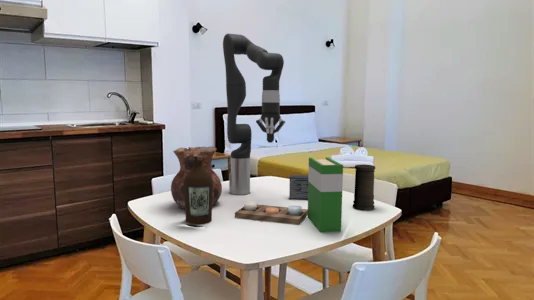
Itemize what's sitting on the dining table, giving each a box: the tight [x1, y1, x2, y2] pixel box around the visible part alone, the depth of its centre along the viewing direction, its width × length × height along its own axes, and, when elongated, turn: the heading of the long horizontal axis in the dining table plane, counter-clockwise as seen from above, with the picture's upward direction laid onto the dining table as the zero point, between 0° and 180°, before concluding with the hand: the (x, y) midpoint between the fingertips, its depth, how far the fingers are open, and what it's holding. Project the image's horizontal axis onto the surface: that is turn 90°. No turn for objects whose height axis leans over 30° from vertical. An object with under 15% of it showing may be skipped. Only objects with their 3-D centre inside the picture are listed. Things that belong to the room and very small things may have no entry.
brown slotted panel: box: [234, 204, 308, 226], centre depth 161 cm, size 25×14×3 cm, turn 71°
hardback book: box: [307, 156, 344, 233], centre depth 150 cm, size 18×7×24 cm, turn 8°
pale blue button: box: [288, 205, 303, 216], centre depth 158 cm, size 5×5×2 cm
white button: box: [243, 200, 257, 211], centre depth 163 cm, size 5×5×2 cm
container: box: [352, 164, 376, 211], centre depth 176 cm, size 9×9×18 cm
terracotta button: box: [266, 207, 279, 214], centre depth 161 cm, size 5×5×2 cm
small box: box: [288, 174, 308, 201], centre depth 192 cm, size 11×6×10 cm, turn 84°
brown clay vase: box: [170, 146, 223, 210], centre depth 176 cm, size 22×21×25 cm
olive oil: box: [183, 156, 213, 228], centre depth 153 cm, size 11×11×25 cm
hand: (270, 142), depth 179 cm, fingers closed
